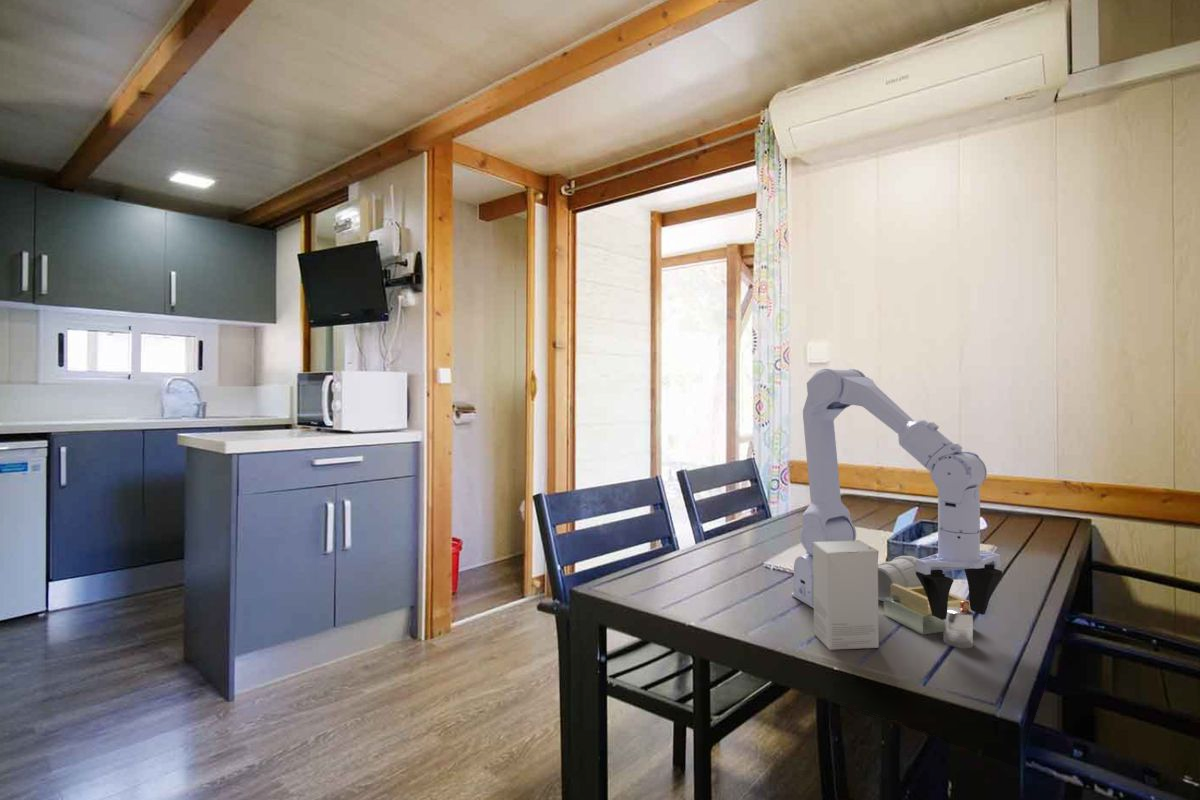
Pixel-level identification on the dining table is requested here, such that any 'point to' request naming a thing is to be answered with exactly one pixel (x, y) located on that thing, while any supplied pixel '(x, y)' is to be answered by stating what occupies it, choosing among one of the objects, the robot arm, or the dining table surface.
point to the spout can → (959, 626)
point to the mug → (897, 575)
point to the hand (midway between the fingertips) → (958, 614)
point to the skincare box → (846, 594)
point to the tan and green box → (915, 608)
